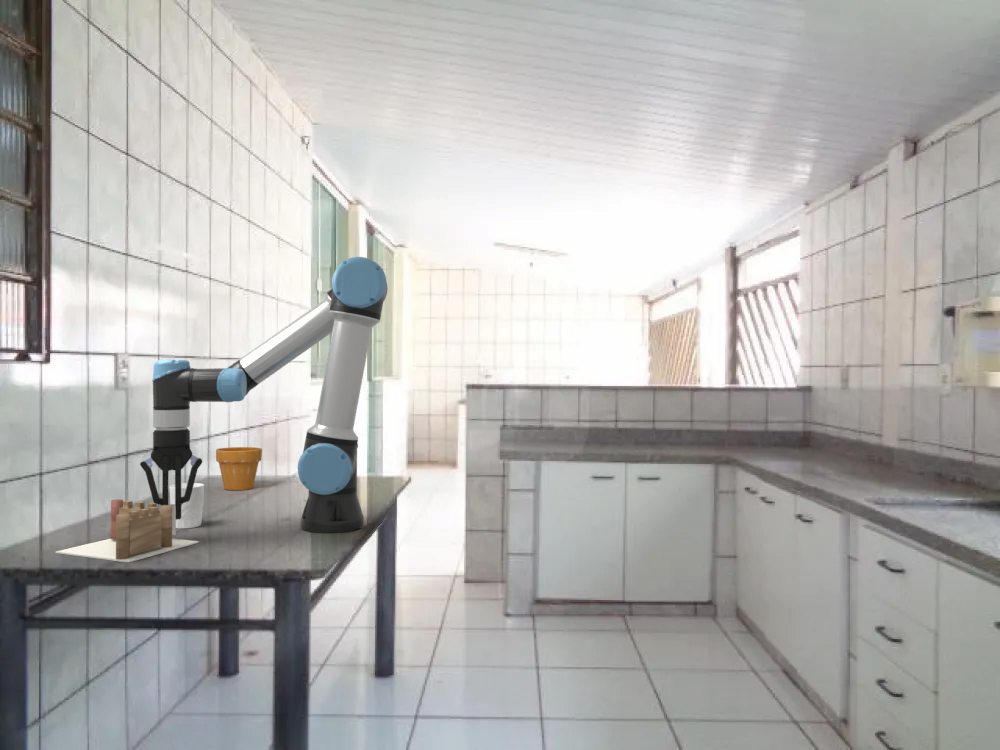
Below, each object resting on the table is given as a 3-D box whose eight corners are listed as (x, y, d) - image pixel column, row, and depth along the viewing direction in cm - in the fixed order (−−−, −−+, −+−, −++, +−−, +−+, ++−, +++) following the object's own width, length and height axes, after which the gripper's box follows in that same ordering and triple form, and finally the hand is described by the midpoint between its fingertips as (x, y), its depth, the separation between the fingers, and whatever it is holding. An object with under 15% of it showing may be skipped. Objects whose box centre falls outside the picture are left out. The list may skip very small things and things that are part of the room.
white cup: (191, 530, 178) (191, 488, 178) (161, 528, 179) (162, 487, 179) (210, 523, 186) (210, 483, 186) (182, 522, 187) (182, 482, 187)
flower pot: (228, 484, 251) (228, 446, 251) (268, 486, 249) (268, 447, 249) (207, 491, 237) (207, 450, 237) (250, 492, 235) (250, 451, 235)
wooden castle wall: (174, 547, 160) (174, 504, 160) (121, 561, 147) (122, 515, 147) (165, 546, 161) (166, 503, 161) (112, 560, 148) (113, 514, 148)
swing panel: (117, 537, 166) (117, 499, 166) (163, 542, 161) (163, 503, 161) (108, 539, 164) (108, 500, 164) (154, 544, 159) (154, 505, 159)
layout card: (199, 542, 164) (199, 540, 164) (128, 562, 147) (128, 560, 147) (130, 535, 171) (130, 533, 171) (55, 553, 154) (55, 551, 154)
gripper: (202, 426, 172) (202, 528, 172) (139, 428, 166) (139, 533, 166) (203, 428, 165) (204, 534, 165) (138, 430, 160) (139, 540, 160)
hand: (171, 534), depth 166 cm, fingers closed
